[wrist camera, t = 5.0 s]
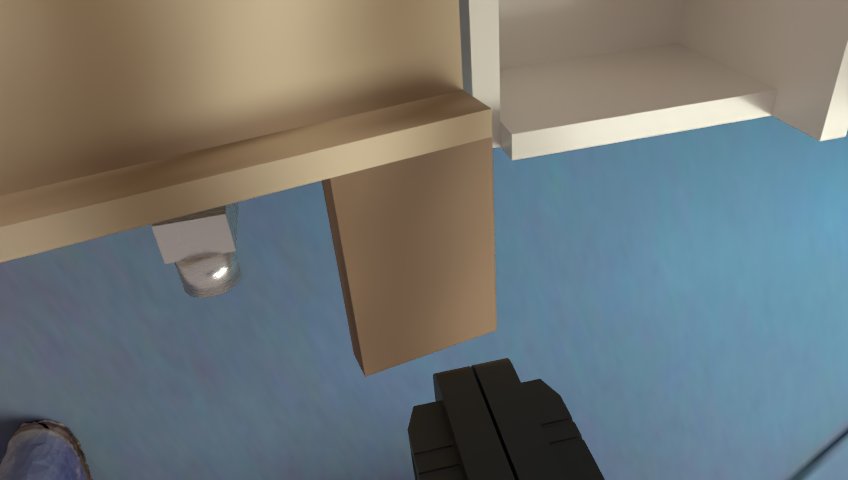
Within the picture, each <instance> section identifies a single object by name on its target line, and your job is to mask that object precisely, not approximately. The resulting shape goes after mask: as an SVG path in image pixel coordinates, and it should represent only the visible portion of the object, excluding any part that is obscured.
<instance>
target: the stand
mask: <svg viewBox="0 0 848 480" xmlns="http://www.w3.org/2000/svg"><path fill="white" fill-rule="evenodd" d="M237 220H238V202H235V203H231V204H227V205H224V206H220V207H216V208H212V209H208V210H204V211H200V212H196V213H192V214H188V215H184V216H181V217H177V218H173V219H169V220H165V221H161V222H157V223H153V224H152V229H153V232H154V235H155V237H156V240H157V243H158V246H159V248H160V251H161V254H162V257H163V259H164V262H165V264H167V263H173V262H175V265H176V268H177V270H178V273H179V276H180V279H181V282H182V285H183V287H184V290H185V292H186V293H187V294H188V295H190V296H193V297H199V298H205V297H212V296H216V295H220V294H222V293H225V292H227V291H229V290H230V289H232V288H233V287H234V286H236V285H237V284H238V282H239V281H240V279H241V277H242V271H241V268H240V264H239V261H238V257H237V254H236V240H237Z"/></svg>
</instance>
